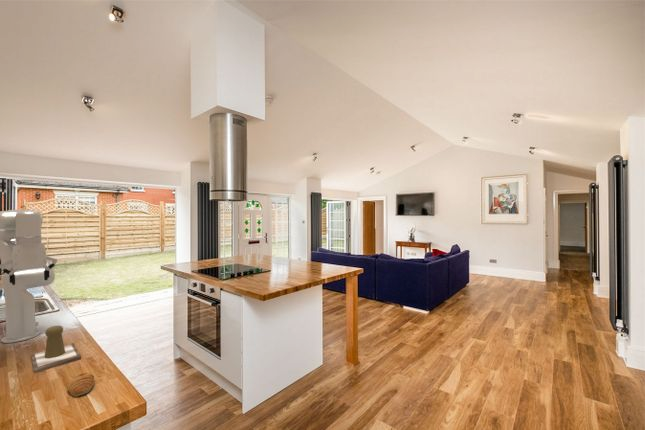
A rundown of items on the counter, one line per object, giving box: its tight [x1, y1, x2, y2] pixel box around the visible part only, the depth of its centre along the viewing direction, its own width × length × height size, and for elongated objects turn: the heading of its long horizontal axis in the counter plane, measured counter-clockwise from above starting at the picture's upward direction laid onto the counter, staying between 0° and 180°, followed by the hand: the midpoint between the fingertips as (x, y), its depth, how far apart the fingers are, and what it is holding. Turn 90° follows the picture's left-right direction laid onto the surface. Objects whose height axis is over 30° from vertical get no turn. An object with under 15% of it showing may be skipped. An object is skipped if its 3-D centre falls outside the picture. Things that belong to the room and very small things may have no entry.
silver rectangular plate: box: [30, 343, 82, 374], centre depth 116 cm, size 18×13×1 cm
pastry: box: [67, 372, 96, 398], centre depth 94 cm, size 9×7×4 cm
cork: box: [44, 325, 65, 358], centre depth 116 cm, size 6×6×11 cm
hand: (30, 282), depth 123 cm, fingers open, 9 cm apart
